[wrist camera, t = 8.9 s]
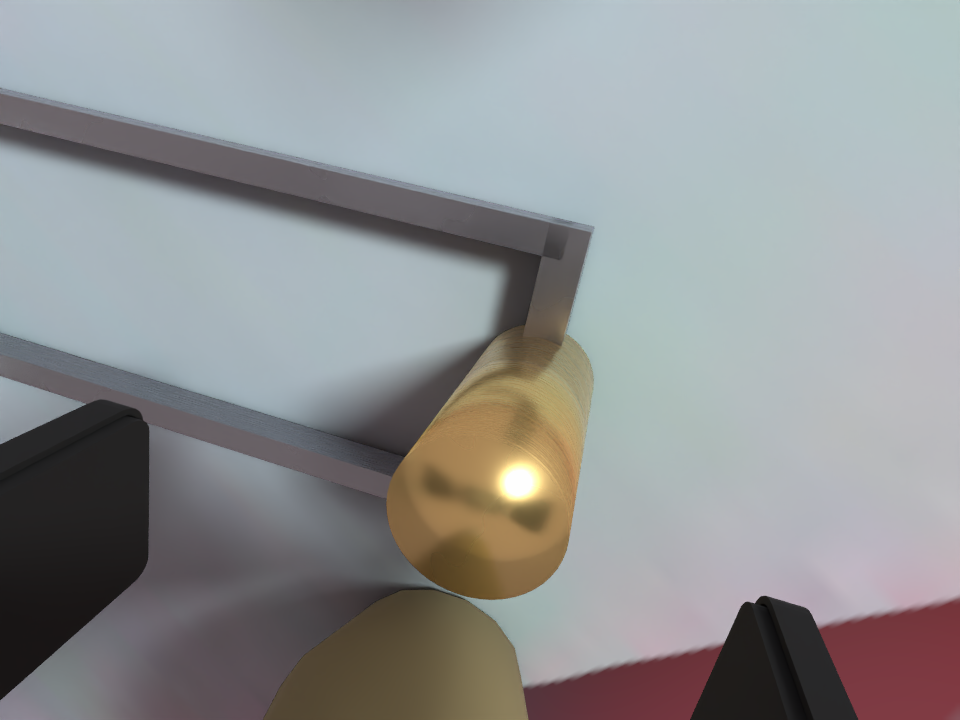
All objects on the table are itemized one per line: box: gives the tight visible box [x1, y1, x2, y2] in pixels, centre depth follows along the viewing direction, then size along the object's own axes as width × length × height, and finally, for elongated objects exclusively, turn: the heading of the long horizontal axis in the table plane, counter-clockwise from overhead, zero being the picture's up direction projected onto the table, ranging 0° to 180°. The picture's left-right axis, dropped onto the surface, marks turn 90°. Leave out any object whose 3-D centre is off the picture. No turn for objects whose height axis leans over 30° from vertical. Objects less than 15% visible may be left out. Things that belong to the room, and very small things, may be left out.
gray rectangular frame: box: [0, 88, 594, 600], centre depth 15 cm, size 9×30×7 cm, turn 79°
